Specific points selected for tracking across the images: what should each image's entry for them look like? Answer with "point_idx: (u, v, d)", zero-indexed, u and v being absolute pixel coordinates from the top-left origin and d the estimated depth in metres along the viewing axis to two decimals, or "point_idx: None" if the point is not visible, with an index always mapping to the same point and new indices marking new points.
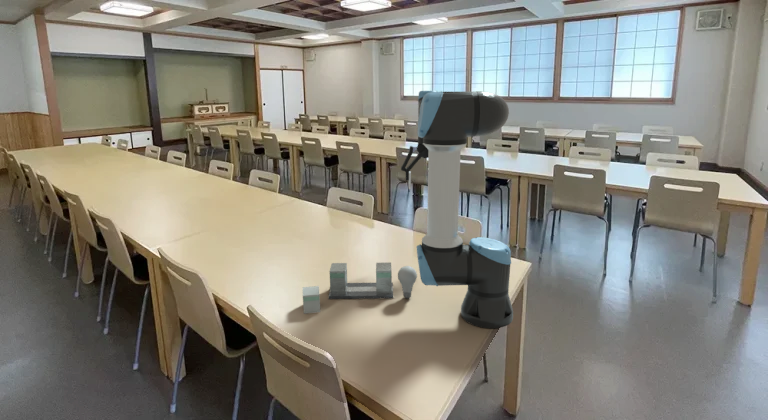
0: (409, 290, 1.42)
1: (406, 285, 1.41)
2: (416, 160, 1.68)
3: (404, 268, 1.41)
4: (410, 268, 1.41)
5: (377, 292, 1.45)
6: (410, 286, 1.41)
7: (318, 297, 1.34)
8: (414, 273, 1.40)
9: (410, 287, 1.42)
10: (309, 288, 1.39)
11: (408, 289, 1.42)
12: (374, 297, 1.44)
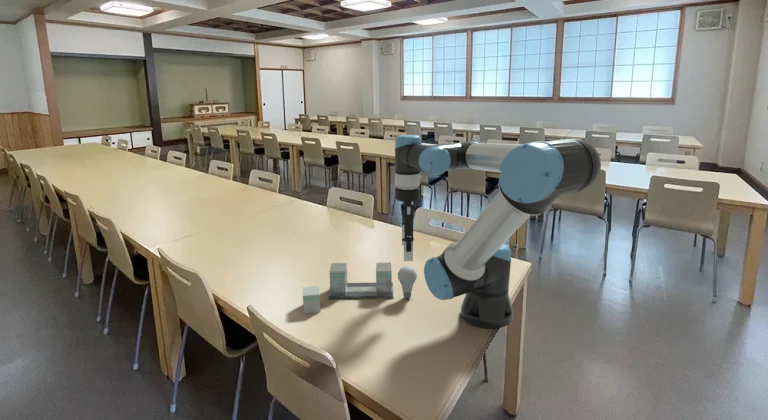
0: (409, 290, 1.42)
1: (406, 285, 1.41)
2: None
3: (404, 268, 1.41)
4: (410, 268, 1.41)
5: (377, 292, 1.45)
6: (410, 286, 1.41)
7: (318, 297, 1.34)
8: (414, 273, 1.40)
9: (410, 287, 1.42)
10: (309, 288, 1.39)
11: (408, 289, 1.42)
12: (374, 297, 1.44)
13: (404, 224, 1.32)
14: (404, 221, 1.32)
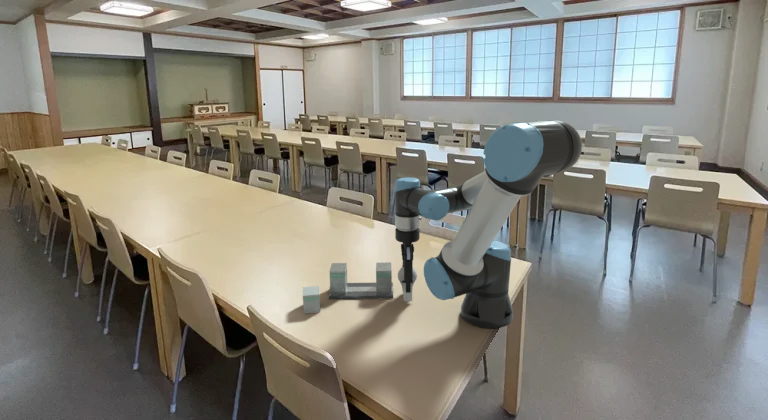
0: None
1: None
2: None
3: None
4: None
5: (377, 292, 1.45)
6: None
7: (318, 297, 1.34)
8: (414, 273, 1.40)
9: None
10: (309, 288, 1.39)
11: None
12: (374, 297, 1.44)
13: None
14: None
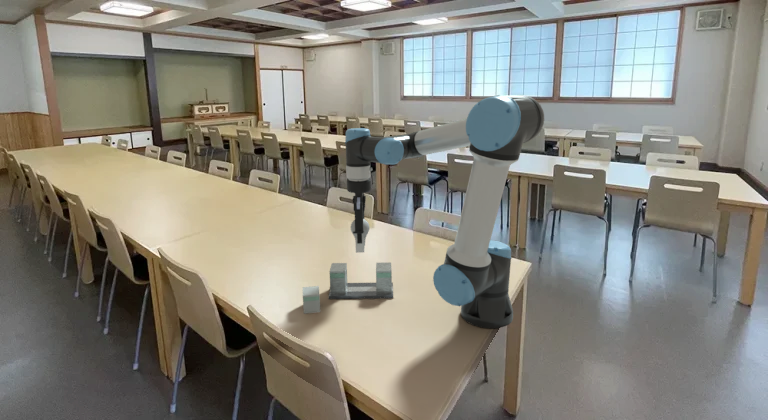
0: None
1: None
2: None
3: None
4: (363, 219, 1.42)
5: (377, 292, 1.45)
6: None
7: (318, 297, 1.34)
8: (366, 224, 1.41)
9: None
10: (309, 288, 1.39)
11: None
12: (374, 297, 1.44)
13: None
14: None
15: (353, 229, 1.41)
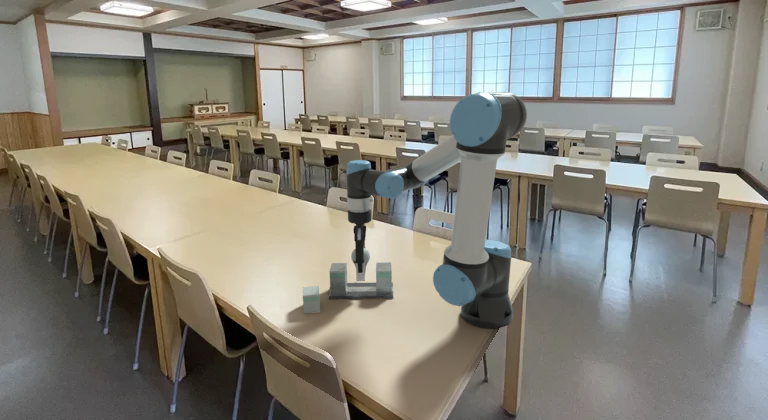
0: None
1: None
2: None
3: None
4: None
5: (377, 292, 1.45)
6: None
7: (318, 297, 1.34)
8: (367, 254, 1.44)
9: None
10: (309, 288, 1.39)
11: None
12: (374, 297, 1.44)
13: None
14: None
15: (354, 258, 1.43)
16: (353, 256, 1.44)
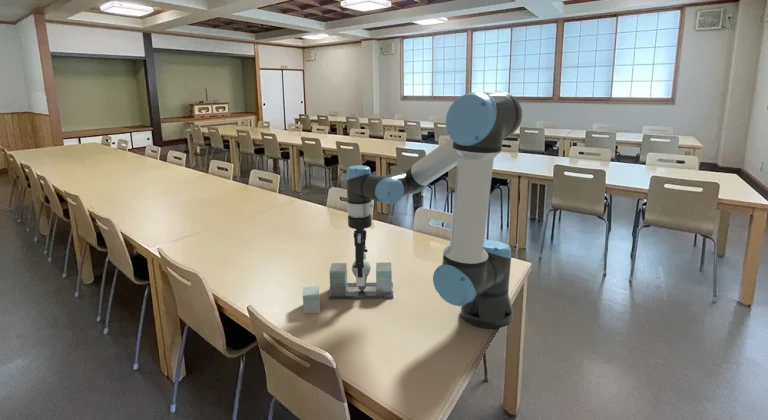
0: None
1: None
2: None
3: None
4: (364, 261, 1.44)
5: (377, 292, 1.45)
6: None
7: (318, 297, 1.34)
8: (367, 266, 1.44)
9: None
10: (309, 288, 1.39)
11: None
12: (374, 297, 1.44)
13: None
14: None
15: (354, 271, 1.43)
16: (354, 268, 1.43)
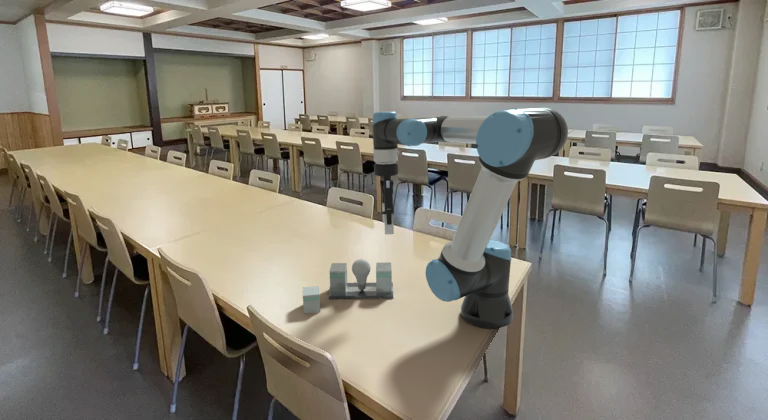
0: (363, 282, 1.45)
1: (360, 278, 1.44)
2: None
3: (357, 261, 1.44)
4: (364, 261, 1.44)
5: (377, 292, 1.45)
6: (364, 278, 1.45)
7: (318, 297, 1.34)
8: (367, 266, 1.44)
9: (364, 279, 1.45)
10: (309, 288, 1.39)
11: (362, 281, 1.45)
12: (374, 297, 1.44)
13: None
14: (384, 195, 1.36)
15: (354, 271, 1.43)
16: (354, 268, 1.43)
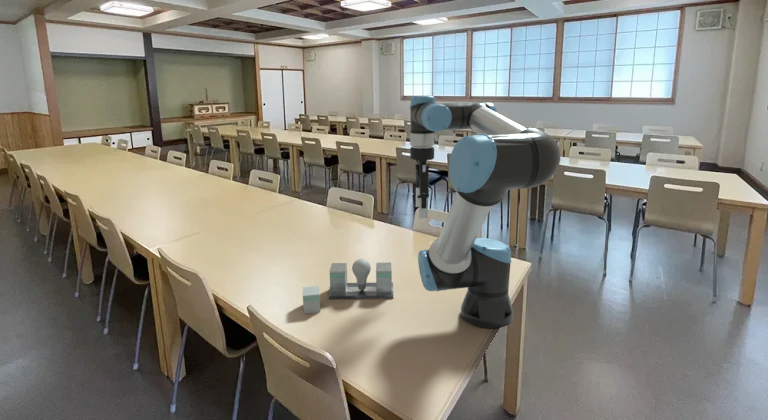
0: (363, 282, 1.45)
1: (360, 277, 1.44)
2: None
3: (358, 261, 1.44)
4: (364, 260, 1.44)
5: (377, 292, 1.45)
6: (364, 278, 1.45)
7: (318, 297, 1.34)
8: (367, 266, 1.44)
9: (364, 279, 1.45)
10: (309, 288, 1.39)
11: (362, 281, 1.45)
12: (374, 297, 1.44)
13: (419, 182, 1.37)
14: (419, 179, 1.37)
15: (355, 270, 1.43)
16: (354, 268, 1.43)
